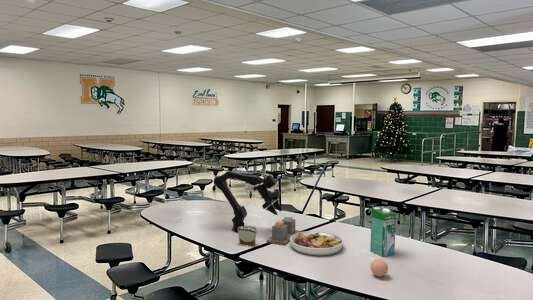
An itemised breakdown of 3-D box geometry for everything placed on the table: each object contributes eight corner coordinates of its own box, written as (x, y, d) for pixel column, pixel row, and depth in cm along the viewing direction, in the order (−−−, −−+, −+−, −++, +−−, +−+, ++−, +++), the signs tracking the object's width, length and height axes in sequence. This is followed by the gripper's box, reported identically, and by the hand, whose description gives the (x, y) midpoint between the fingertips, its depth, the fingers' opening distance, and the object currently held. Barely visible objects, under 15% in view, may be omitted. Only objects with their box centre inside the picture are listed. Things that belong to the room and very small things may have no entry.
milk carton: (382, 257, 195) (383, 211, 193) (370, 251, 203) (371, 207, 201) (394, 254, 199) (396, 209, 197) (382, 248, 207) (383, 205, 205)
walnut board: (284, 245, 212) (284, 243, 212) (266, 242, 217) (266, 240, 217) (300, 232, 235) (300, 230, 235) (283, 230, 240) (283, 228, 240)
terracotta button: (281, 228, 217) (281, 223, 216) (275, 227, 218) (275, 222, 218) (283, 226, 220) (283, 221, 220) (278, 225, 222) (278, 220, 221)
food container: (260, 243, 215) (260, 227, 214) (256, 247, 209) (256, 230, 208) (242, 240, 220) (242, 224, 219) (237, 244, 214) (237, 227, 213)
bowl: (312, 235, 231) (312, 223, 230) (353, 248, 209) (353, 234, 209) (279, 247, 210) (279, 234, 209) (321, 262, 188) (321, 247, 188)
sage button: (289, 222, 229) (290, 217, 229) (284, 221, 231) (284, 216, 230) (292, 220, 232) (292, 215, 232) (286, 219, 234) (286, 215, 234)
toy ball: (384, 272, 176) (385, 256, 175) (390, 279, 168) (391, 263, 167) (368, 272, 176) (368, 256, 175) (373, 279, 168) (373, 263, 167)
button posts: (282, 241, 215) (282, 228, 214) (271, 239, 218) (271, 226, 217) (295, 231, 234) (295, 219, 233) (285, 230, 237) (285, 217, 236)
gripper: (269, 188, 221) (284, 209, 219) (278, 182, 238) (292, 202, 236) (255, 198, 224) (270, 219, 222) (265, 192, 242) (279, 211, 240)
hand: (279, 212), depth 230 cm, fingers open, 9 cm apart
